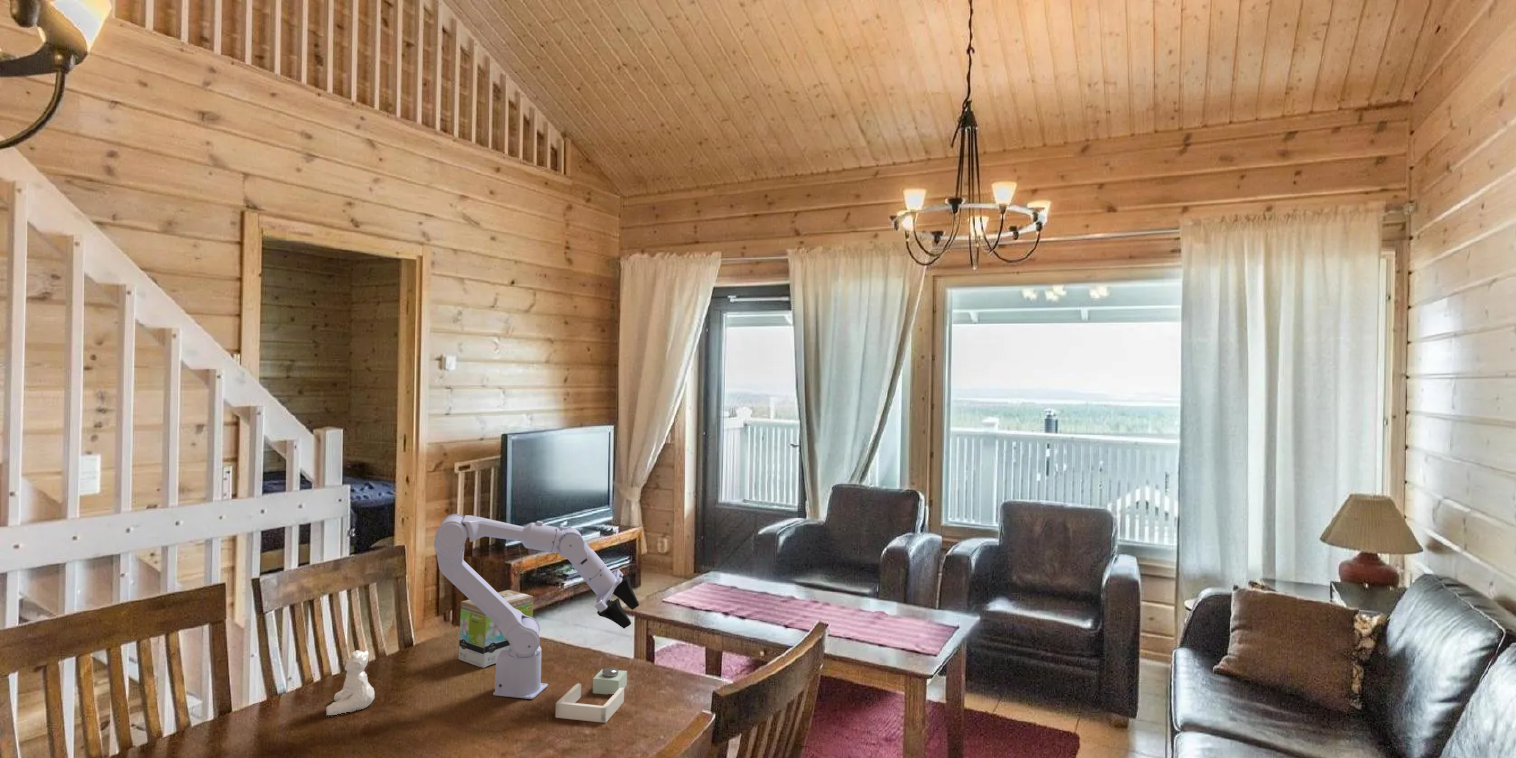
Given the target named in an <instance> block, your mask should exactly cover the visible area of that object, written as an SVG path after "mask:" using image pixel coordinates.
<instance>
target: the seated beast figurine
mask: <svg viewBox="0 0 1516 758" xmlns="http://www.w3.org/2000/svg"><path fill="white" fill-rule="evenodd" d="M369 656H370V653H369V651H368V650H365V651H362V650H360V649H358V650H357V649H356V650H355V651H352V653H351V655H350V657H349V658H347V659H346V665H345V667H344V670H345V671H346V673H345V679H344V682H343V686H342V689H341V690H340V691H337V692H336V693H335V694H334V698H333V699H334V700H333V701H334V702H333V701H332V703H331V704H329V705H327V706H326V707H325V708H326V709H325V710H326V716H327V715H337V714H341V713H345V714H347V713H346V712H350V713H353V712H357V711H360V710H361V709H362V710H365V709H366V708H368V707H369V705H371V704H372V703H373V701H374V700H375V694H376V693H375V690H374V689H375V687H373V686H372V685H371V684H370V682H369V679H368V674H367V673H366V671H365V669H366V667H367V666H368V664H369V663H368V662H369ZM356 710H357V711H356ZM341 715H342V714H341ZM337 716H338V715H337Z"/></svg>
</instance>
